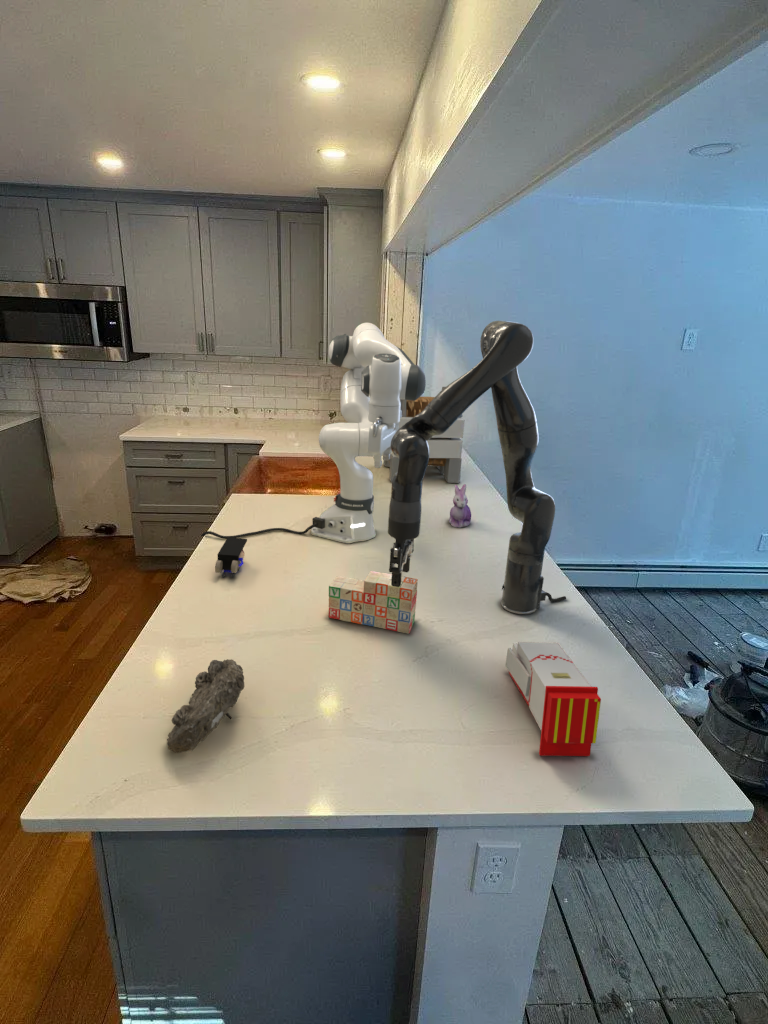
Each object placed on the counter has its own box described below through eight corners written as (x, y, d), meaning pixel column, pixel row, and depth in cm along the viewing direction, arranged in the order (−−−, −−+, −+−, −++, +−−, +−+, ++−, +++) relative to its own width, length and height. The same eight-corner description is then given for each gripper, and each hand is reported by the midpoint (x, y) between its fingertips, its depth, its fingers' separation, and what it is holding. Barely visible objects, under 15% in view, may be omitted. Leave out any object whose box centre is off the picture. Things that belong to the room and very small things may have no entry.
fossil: (192, 660, 117) (244, 628, 112) (224, 691, 120) (276, 661, 115) (142, 746, 98) (202, 712, 93) (182, 779, 101) (242, 748, 96)
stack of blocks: (327, 618, 144) (328, 574, 140) (336, 607, 150) (337, 564, 145) (409, 634, 139) (412, 589, 135) (415, 621, 144) (418, 578, 140)
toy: (554, 624, 127) (610, 694, 97) (548, 679, 130) (602, 763, 100) (500, 623, 126) (541, 693, 97) (496, 678, 129) (534, 763, 100)
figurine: (457, 529, 205) (460, 490, 200) (441, 520, 214) (444, 482, 209) (478, 526, 210) (482, 487, 205) (462, 517, 218) (465, 480, 213)
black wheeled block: (238, 584, 162) (249, 557, 175) (236, 562, 158) (247, 536, 172) (215, 584, 161) (227, 556, 175) (212, 561, 158) (225, 535, 171)
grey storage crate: (382, 463, 289) (386, 382, 275) (445, 464, 293) (451, 384, 279) (390, 482, 257) (394, 392, 243) (460, 483, 261) (468, 394, 247)
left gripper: (386, 421, 147) (384, 473, 151) (403, 410, 166) (400, 457, 170) (362, 419, 148) (361, 470, 153) (382, 409, 167) (380, 455, 171)
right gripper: (413, 528, 125) (408, 594, 130) (426, 508, 138) (421, 569, 143) (380, 523, 127) (377, 588, 132) (396, 504, 140) (393, 564, 145)
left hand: (382, 463), depth 161 cm, fingers open, 8 cm apart
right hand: (400, 578), depth 138 cm, fingers open, 8 cm apart
